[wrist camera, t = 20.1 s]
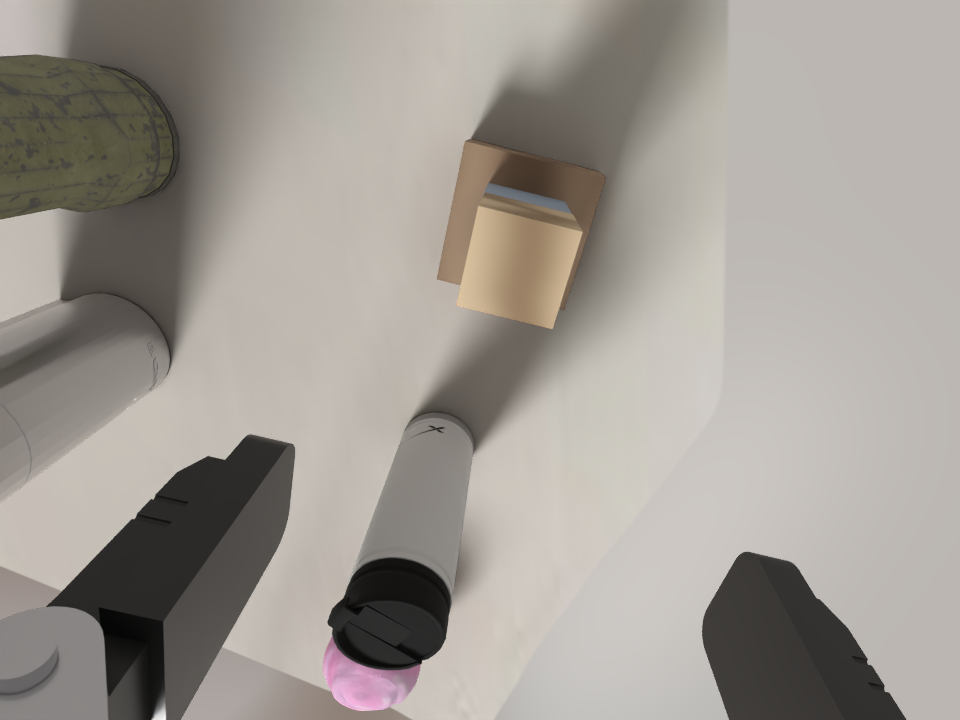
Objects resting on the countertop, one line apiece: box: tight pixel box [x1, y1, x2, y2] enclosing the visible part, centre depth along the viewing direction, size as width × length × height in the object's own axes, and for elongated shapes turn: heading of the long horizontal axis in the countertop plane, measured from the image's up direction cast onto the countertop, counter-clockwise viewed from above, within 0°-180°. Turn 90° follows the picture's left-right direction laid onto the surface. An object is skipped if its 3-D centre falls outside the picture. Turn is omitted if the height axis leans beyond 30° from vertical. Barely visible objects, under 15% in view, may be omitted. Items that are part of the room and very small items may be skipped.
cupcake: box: [323, 637, 421, 711], centre depth 51 cm, size 9×9×10 cm
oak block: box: [456, 192, 583, 329], centre depth 28 cm, size 5×5×5 cm
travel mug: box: [328, 412, 474, 671], centre depth 38 cm, size 6×7×20 cm
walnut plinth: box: [437, 139, 606, 310], centre depth 37 cm, size 9×9×4 cm
